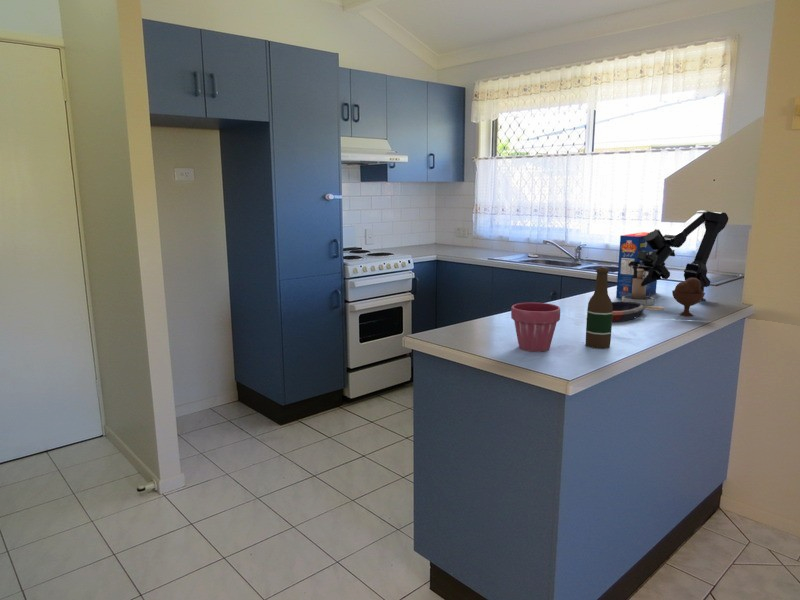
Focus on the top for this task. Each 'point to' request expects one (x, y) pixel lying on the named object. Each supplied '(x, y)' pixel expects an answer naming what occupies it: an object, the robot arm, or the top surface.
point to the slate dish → (647, 300)
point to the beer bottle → (599, 314)
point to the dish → (626, 310)
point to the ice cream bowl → (688, 294)
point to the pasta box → (628, 253)
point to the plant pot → (535, 324)
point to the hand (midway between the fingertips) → (636, 284)
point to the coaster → (654, 308)
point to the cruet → (638, 286)
